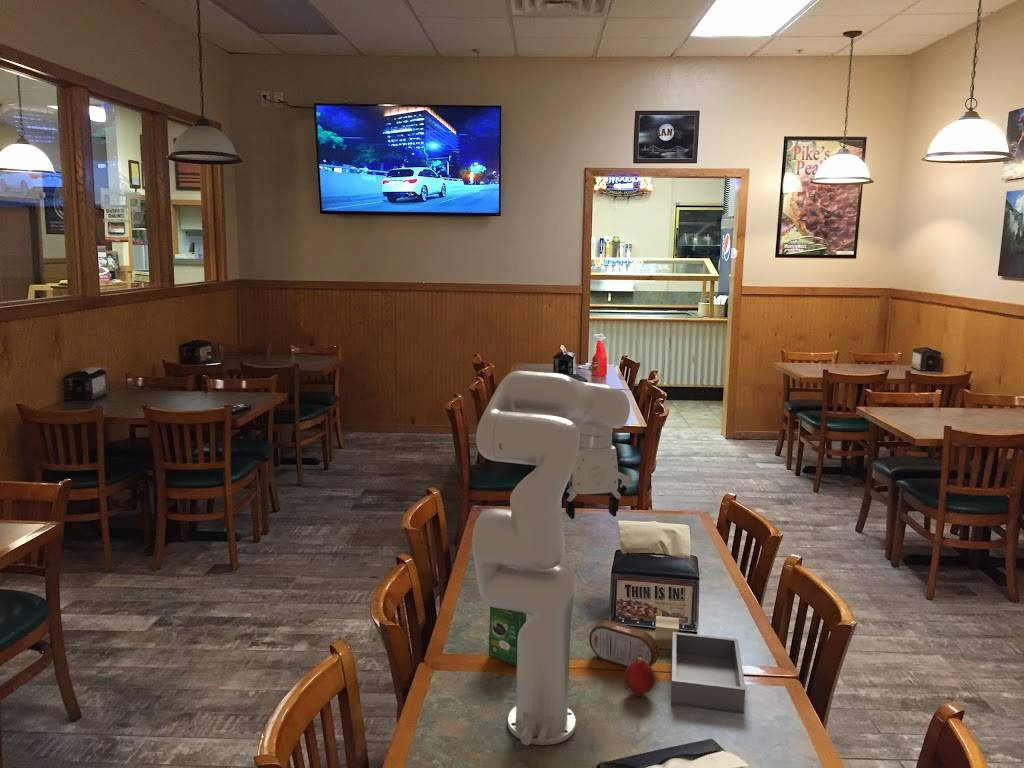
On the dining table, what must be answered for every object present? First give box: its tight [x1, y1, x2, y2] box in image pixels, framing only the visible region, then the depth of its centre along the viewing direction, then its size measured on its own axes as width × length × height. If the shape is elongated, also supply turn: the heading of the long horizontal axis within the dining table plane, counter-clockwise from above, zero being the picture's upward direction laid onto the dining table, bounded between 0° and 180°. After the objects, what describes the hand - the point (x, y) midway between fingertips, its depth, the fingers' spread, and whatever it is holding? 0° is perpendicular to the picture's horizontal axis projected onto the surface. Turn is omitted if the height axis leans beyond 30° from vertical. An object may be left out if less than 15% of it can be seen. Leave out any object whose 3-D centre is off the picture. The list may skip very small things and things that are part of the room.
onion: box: [623, 658, 656, 696], centre depth 156 cm, size 6×6×8 cm
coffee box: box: [488, 606, 527, 668], centre depth 168 cm, size 8×3×13 cm, turn 54°
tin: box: [588, 619, 660, 668], centre depth 167 cm, size 15×3×8 cm, turn 59°
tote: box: [670, 632, 746, 715], centre depth 161 cm, size 20×14×5 cm
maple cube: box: [654, 615, 680, 650], centre depth 176 cm, size 5×5×5 cm
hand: (591, 515), depth 176 cm, fingers open, 9 cm apart
